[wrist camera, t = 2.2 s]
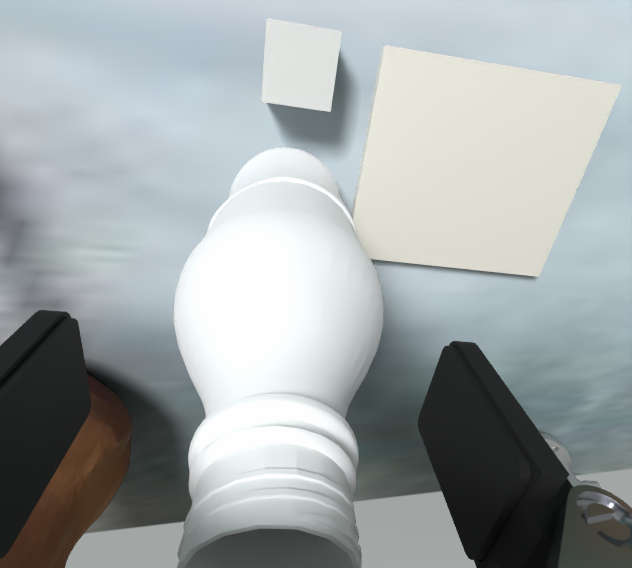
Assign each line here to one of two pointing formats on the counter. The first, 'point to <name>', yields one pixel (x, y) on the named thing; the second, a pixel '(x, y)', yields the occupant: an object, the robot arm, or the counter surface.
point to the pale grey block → (300, 65)
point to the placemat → (472, 160)
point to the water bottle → (276, 370)
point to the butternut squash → (77, 485)
